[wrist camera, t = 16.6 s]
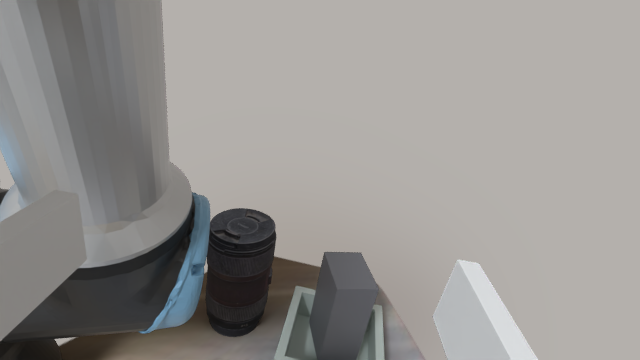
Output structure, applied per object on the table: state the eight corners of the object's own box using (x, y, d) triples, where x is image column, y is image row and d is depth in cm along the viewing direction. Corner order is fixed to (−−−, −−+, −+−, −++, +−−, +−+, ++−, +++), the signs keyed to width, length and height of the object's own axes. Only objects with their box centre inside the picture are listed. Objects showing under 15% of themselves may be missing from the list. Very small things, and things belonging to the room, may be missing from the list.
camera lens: (226, 287, 50) (234, 200, 44) (274, 308, 48) (289, 220, 42) (189, 325, 43) (192, 227, 37) (244, 352, 41) (255, 253, 35)
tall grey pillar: (314, 378, 39) (337, 289, 33) (306, 334, 44) (324, 251, 39) (351, 375, 40) (378, 288, 35) (338, 332, 45) (360, 252, 40)
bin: (267, 392, 37) (272, 361, 35) (291, 312, 48) (296, 285, 46) (374, 420, 37) (385, 390, 35) (373, 332, 48) (382, 306, 46)
